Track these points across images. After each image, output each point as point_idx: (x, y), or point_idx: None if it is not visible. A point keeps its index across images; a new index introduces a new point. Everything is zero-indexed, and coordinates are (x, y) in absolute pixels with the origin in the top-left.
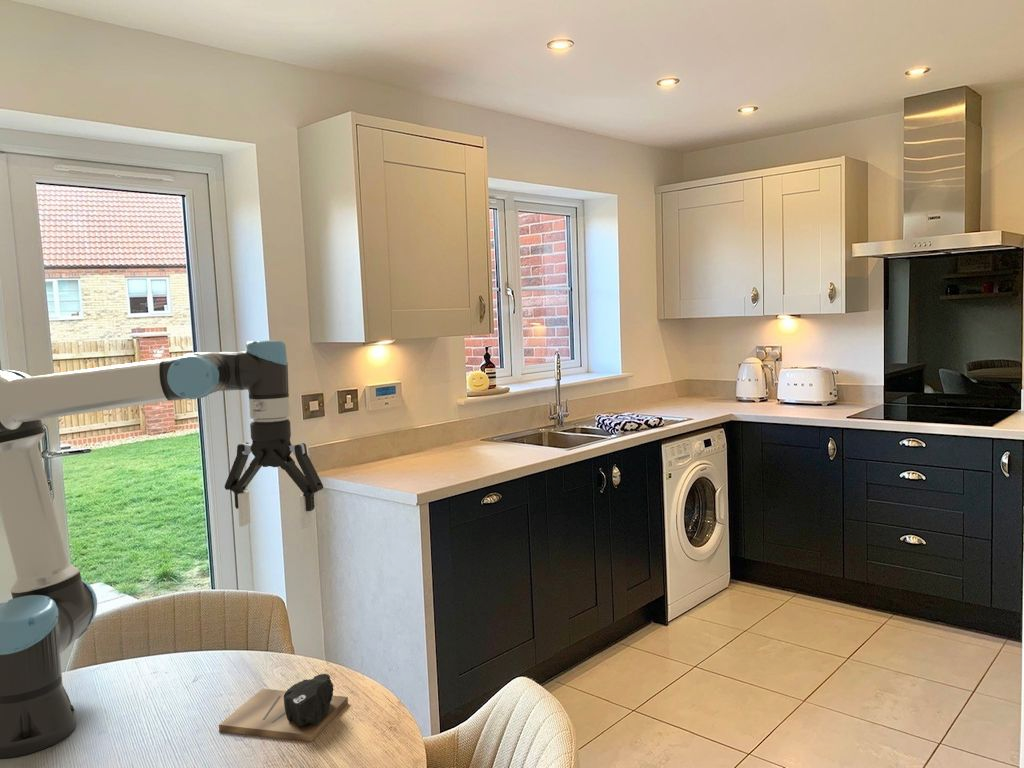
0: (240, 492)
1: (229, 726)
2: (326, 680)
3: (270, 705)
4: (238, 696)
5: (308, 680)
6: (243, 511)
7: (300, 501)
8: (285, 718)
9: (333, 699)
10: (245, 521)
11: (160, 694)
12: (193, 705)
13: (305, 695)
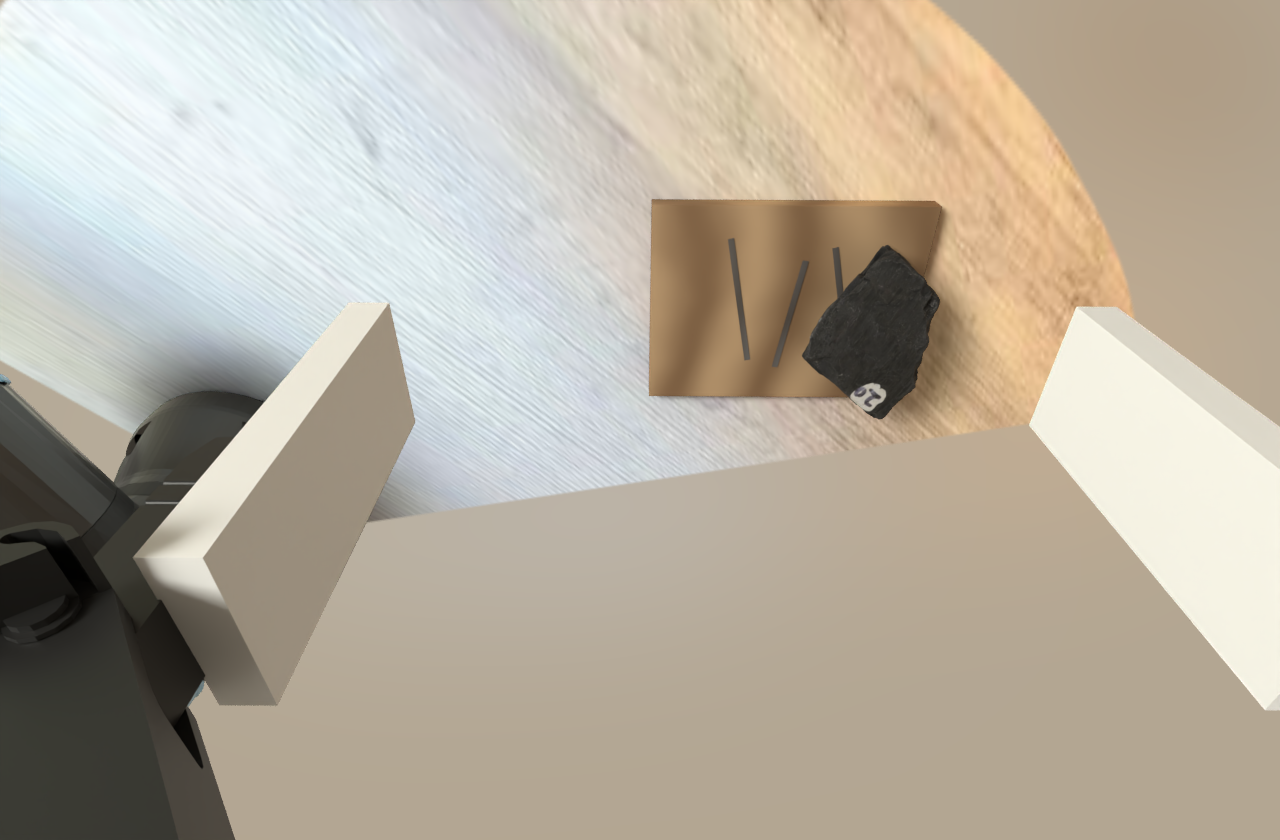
0: (195, 670)
1: (677, 395)
2: (923, 308)
3: (729, 293)
4: (585, 222)
5: (865, 315)
6: (361, 491)
7: (1209, 637)
8: (800, 344)
9: (901, 229)
10: (395, 400)
11: (349, 253)
12: (495, 292)
13: (883, 388)
